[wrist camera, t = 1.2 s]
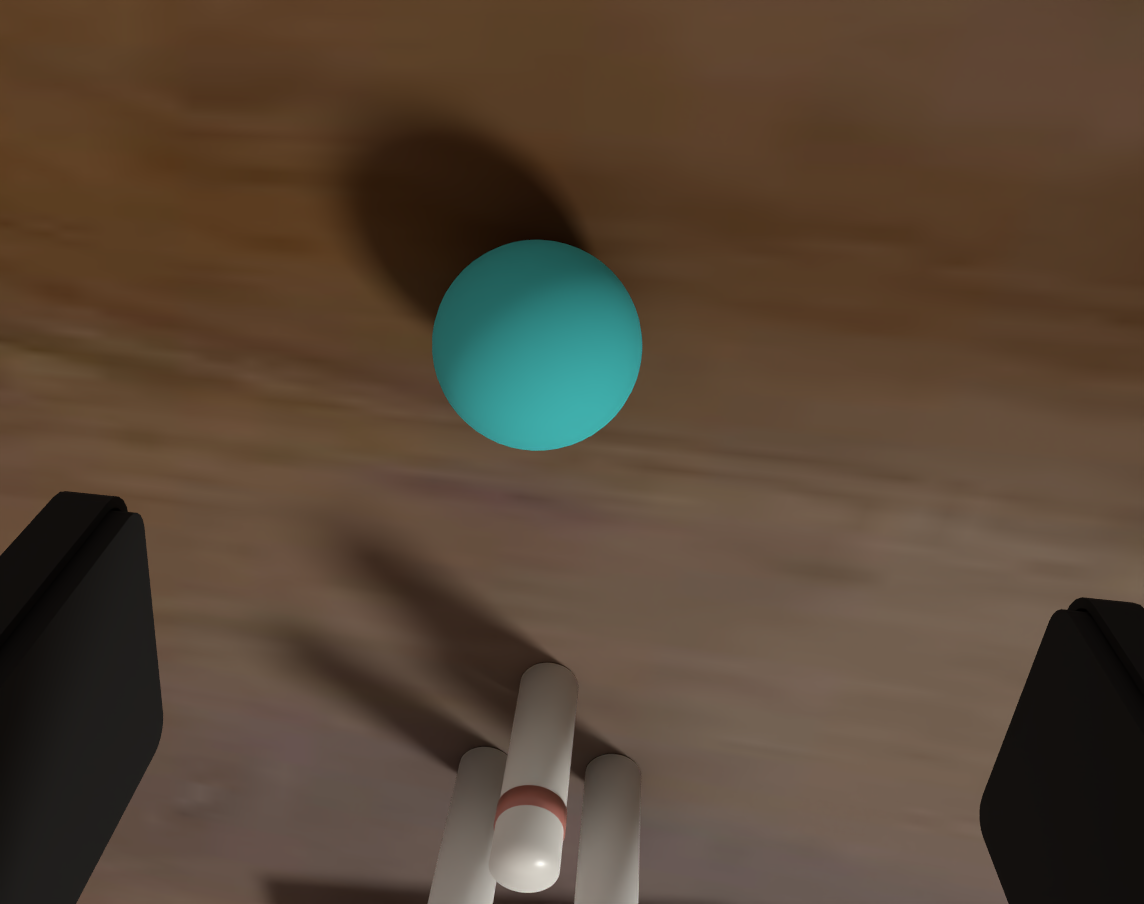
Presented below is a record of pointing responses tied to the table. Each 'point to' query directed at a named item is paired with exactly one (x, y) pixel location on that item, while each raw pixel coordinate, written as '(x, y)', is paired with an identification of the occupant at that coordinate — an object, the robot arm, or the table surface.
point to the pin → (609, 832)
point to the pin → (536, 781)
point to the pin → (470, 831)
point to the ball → (537, 345)
